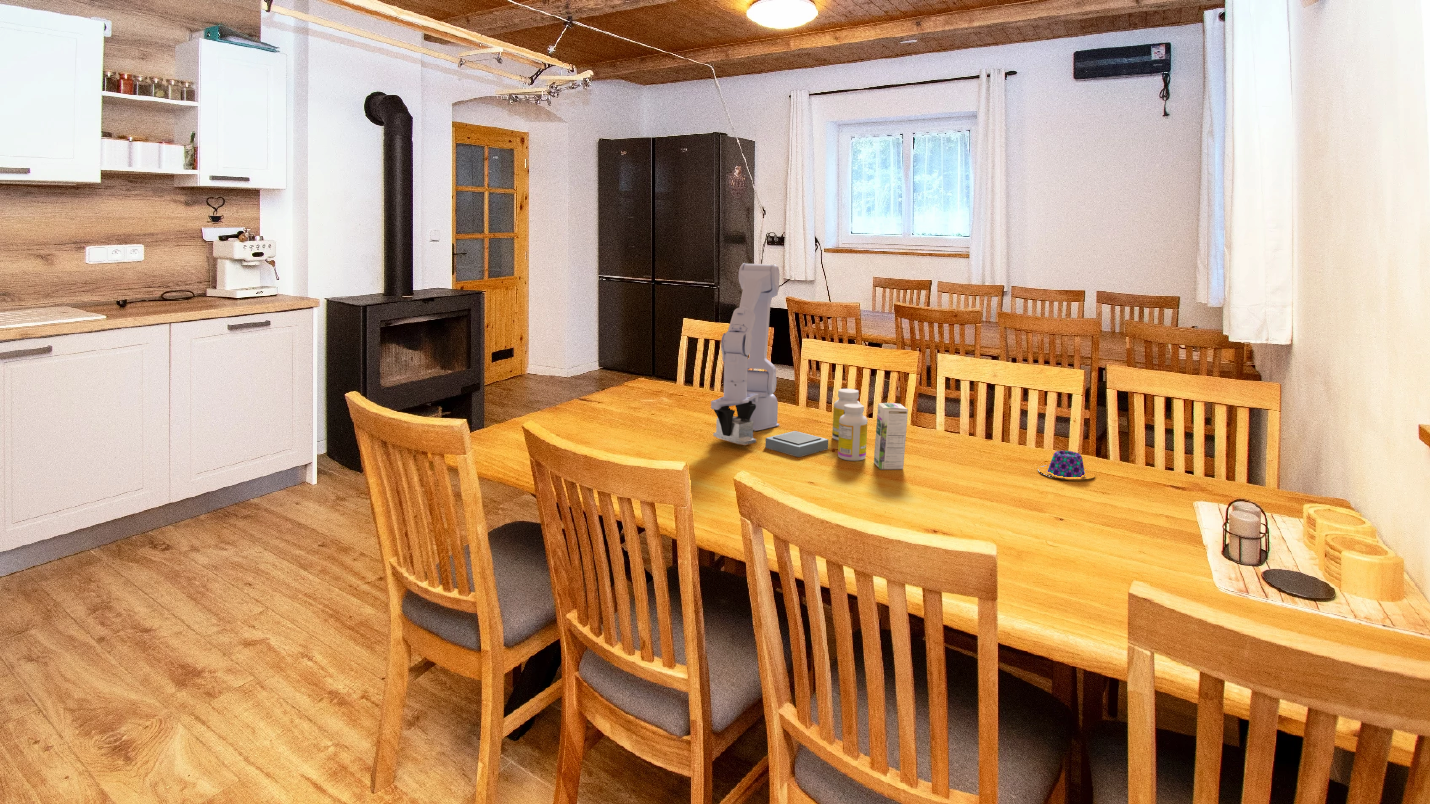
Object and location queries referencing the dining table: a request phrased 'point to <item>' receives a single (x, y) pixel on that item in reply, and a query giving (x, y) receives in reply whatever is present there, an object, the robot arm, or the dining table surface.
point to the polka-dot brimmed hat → (1066, 464)
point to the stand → (796, 443)
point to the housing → (737, 431)
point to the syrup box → (890, 436)
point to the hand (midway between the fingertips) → (734, 433)
